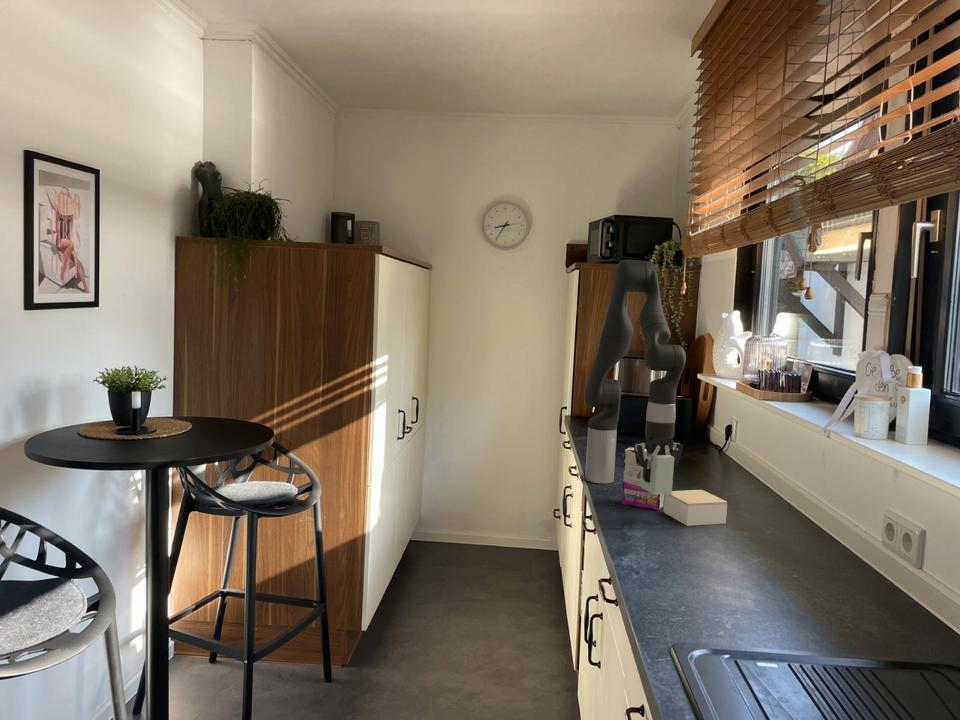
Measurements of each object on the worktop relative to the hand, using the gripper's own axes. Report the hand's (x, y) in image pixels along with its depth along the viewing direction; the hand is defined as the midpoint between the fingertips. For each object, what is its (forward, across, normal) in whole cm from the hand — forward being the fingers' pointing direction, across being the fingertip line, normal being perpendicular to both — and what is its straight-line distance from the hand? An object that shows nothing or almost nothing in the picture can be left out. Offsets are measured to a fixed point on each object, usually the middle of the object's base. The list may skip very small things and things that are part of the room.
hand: (656, 481), depth 197 cm
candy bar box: (+11, -4, -14) cm, 18 cm away
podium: (+11, -13, -1) cm, 17 cm away
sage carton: (+2, 0, 0) cm, 2 cm away
